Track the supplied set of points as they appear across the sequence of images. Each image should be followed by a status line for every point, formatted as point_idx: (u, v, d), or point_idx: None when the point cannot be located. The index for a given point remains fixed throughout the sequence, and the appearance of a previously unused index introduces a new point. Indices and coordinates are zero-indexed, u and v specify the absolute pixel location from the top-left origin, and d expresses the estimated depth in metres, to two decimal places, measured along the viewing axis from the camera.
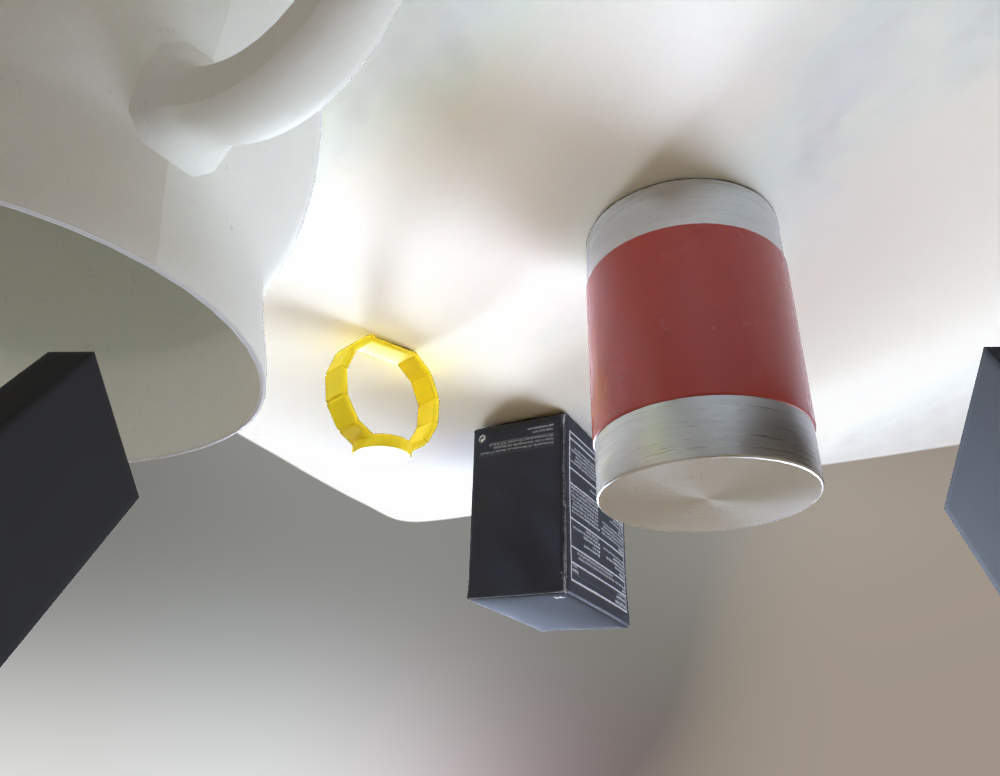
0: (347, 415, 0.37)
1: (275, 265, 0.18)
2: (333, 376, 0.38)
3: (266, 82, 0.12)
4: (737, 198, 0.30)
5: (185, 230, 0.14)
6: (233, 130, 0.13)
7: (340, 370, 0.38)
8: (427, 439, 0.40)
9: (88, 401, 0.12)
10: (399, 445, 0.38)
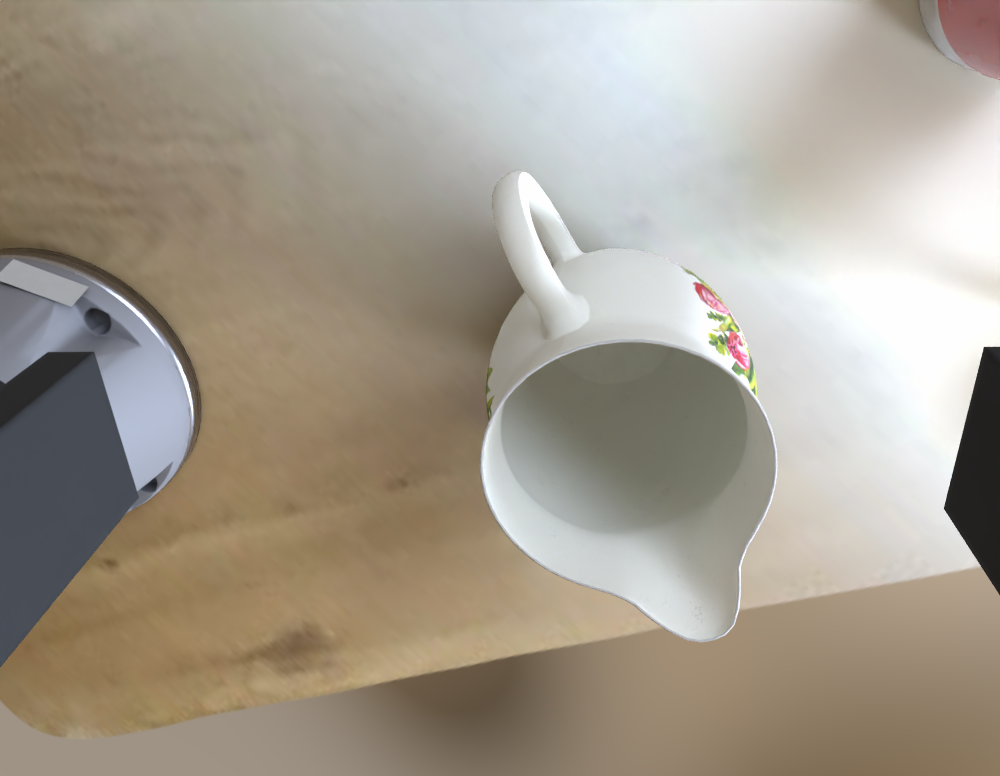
0: None
1: (683, 319, 0.29)
2: None
3: (518, 271, 0.28)
4: None
5: (576, 338, 0.28)
6: (545, 295, 0.28)
7: None
8: None
9: (88, 401, 0.12)
10: None
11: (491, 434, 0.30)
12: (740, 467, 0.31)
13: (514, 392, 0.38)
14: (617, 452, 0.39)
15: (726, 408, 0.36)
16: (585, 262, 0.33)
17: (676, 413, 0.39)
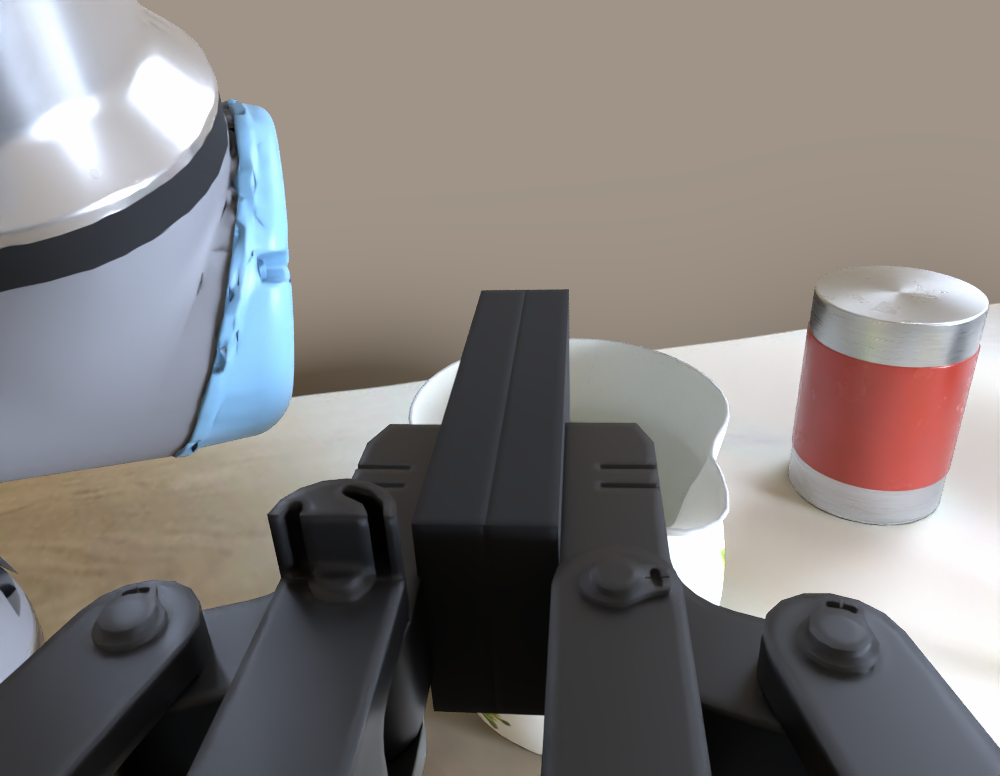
0: None
1: (622, 418, 0.32)
2: None
3: None
4: None
5: None
6: None
7: None
8: None
9: None
10: None
11: (429, 416, 0.29)
12: None
13: None
14: None
15: None
16: None
17: None
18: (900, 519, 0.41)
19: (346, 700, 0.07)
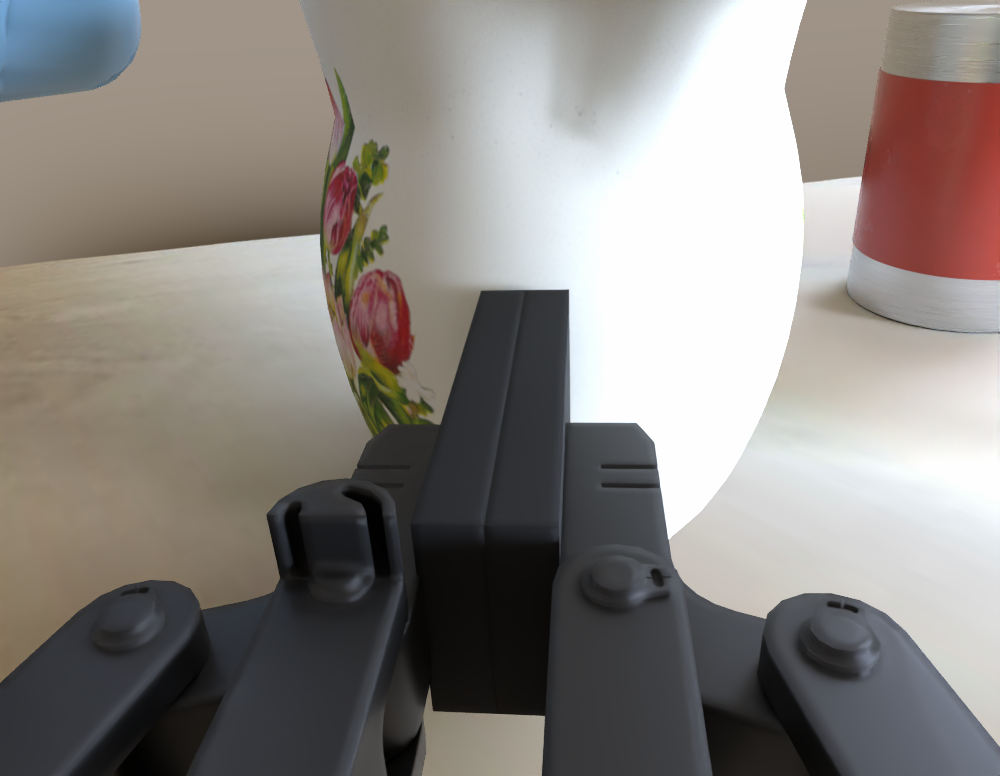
0: None
1: None
2: None
3: None
4: None
5: None
6: None
7: None
8: None
9: None
10: None
11: None
12: None
13: None
14: None
15: None
16: None
17: None
18: None
19: (345, 700, 0.07)
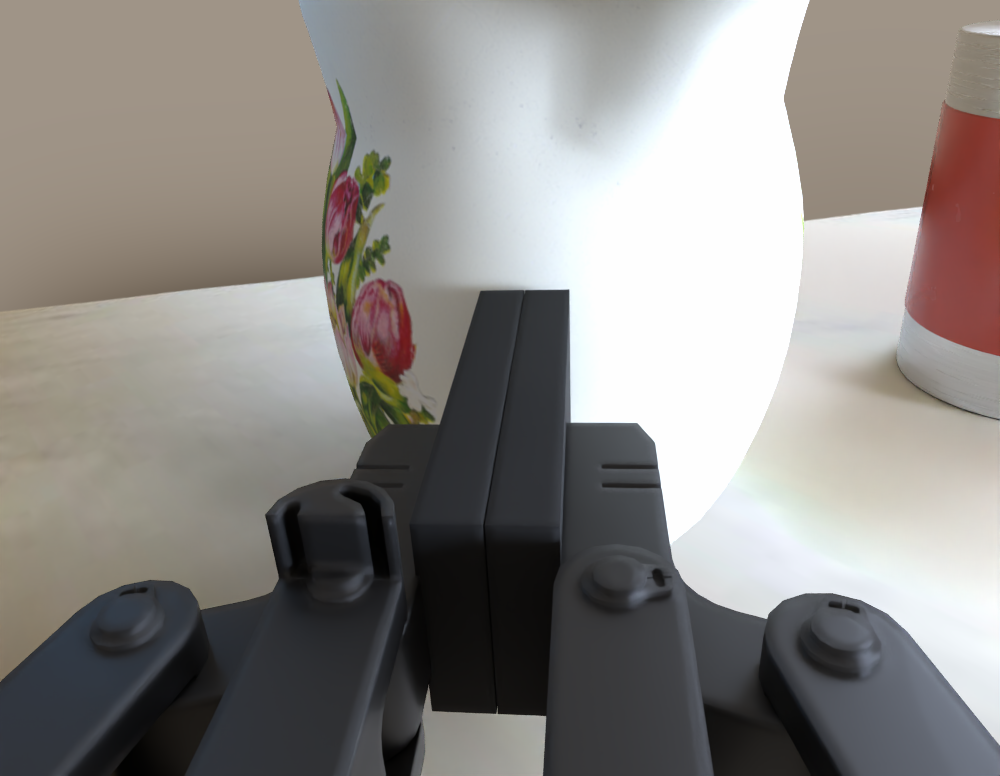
0: None
1: None
2: None
3: None
4: None
5: None
6: None
7: None
8: None
9: None
10: None
11: None
12: None
13: None
14: None
15: None
16: None
17: None
18: None
19: (344, 700, 0.07)
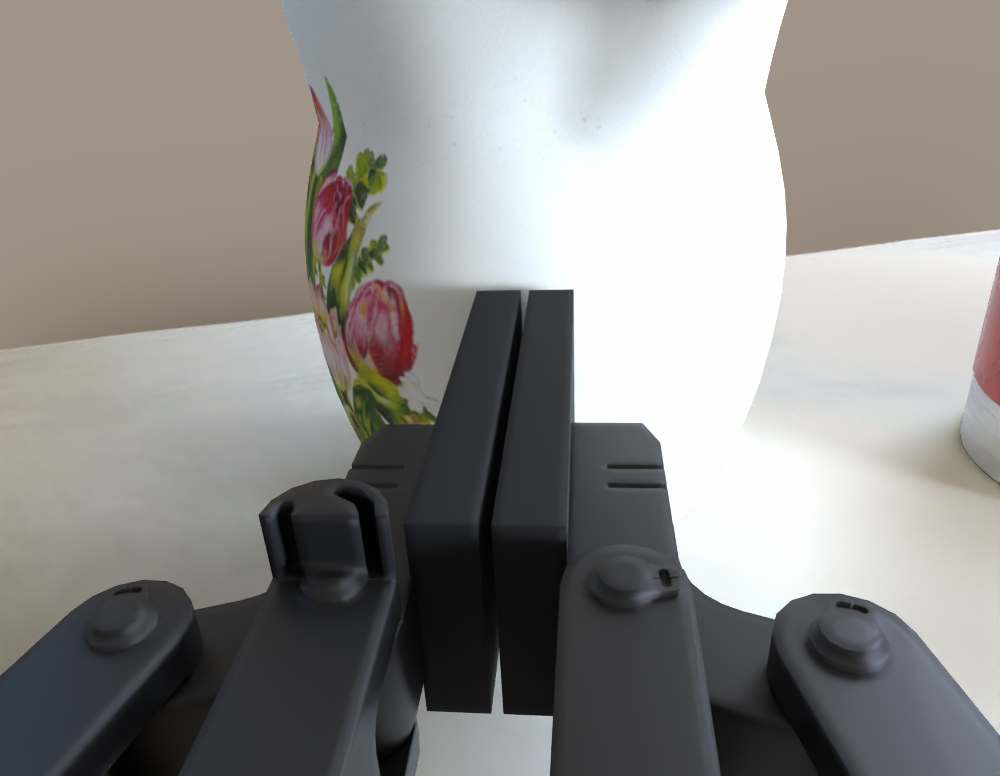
0: None
1: None
2: None
3: None
4: None
5: None
6: None
7: None
8: None
9: (519, 333, 0.14)
10: None
11: None
12: None
13: None
14: None
15: None
16: None
17: None
18: None
19: (337, 699, 0.07)
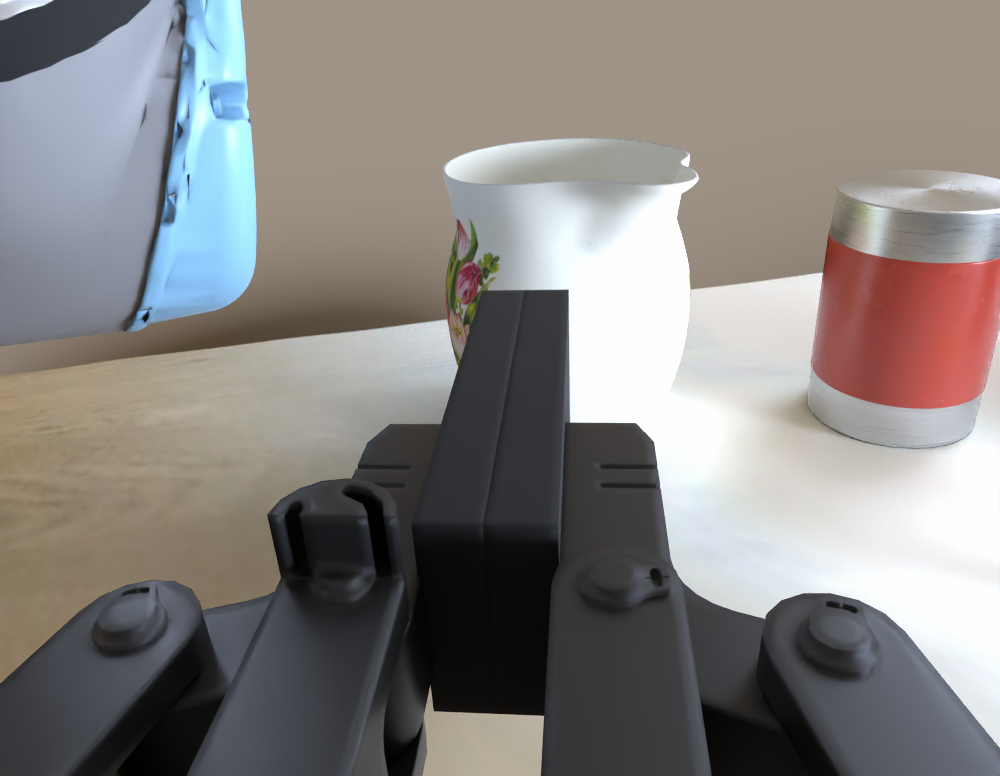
0: None
1: None
2: None
3: None
4: None
5: None
6: None
7: None
8: None
9: None
10: None
11: None
12: None
13: None
14: None
15: None
16: None
17: None
18: (932, 441, 0.37)
19: (346, 700, 0.07)
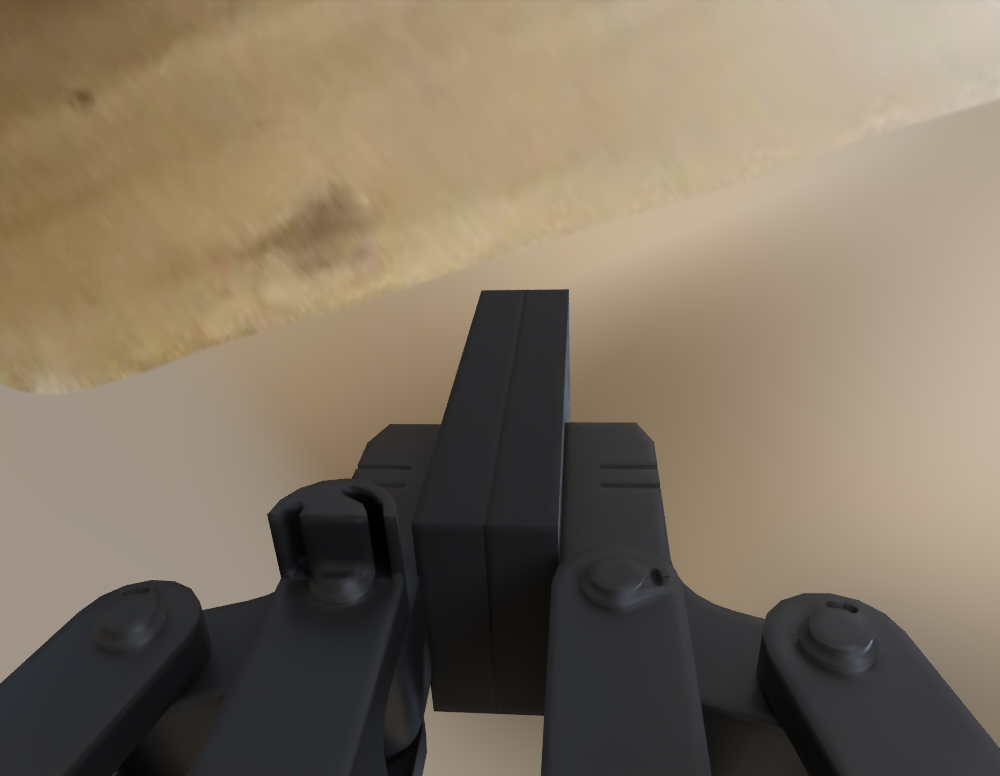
0: None
1: None
2: None
3: None
4: None
5: None
6: None
7: None
8: None
9: None
10: None
11: None
12: None
13: None
14: None
15: None
16: None
17: None
18: None
19: (346, 700, 0.07)
